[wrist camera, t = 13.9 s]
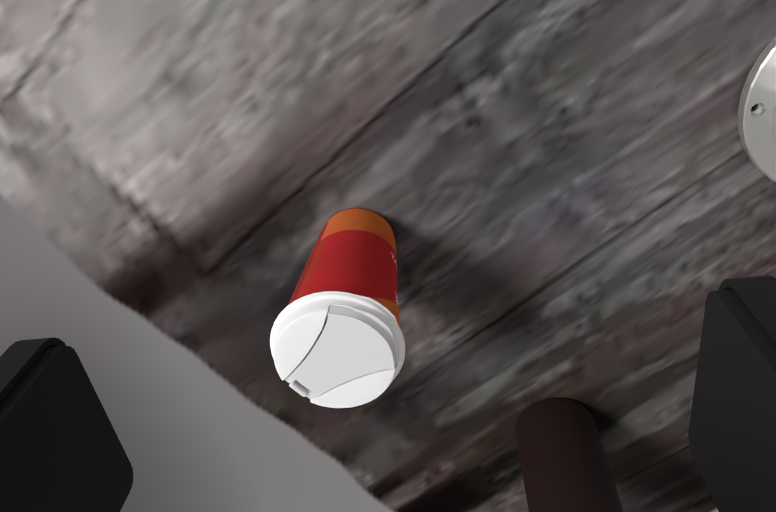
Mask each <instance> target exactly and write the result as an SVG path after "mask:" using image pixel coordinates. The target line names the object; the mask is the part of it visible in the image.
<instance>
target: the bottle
mask: <svg viewBox="0 0 776 512" xmlns="http://www.w3.org/2000/svg"><path fill="white" fill-rule="evenodd" d="M515 432H516V438H517V444H518V450H519V456H520V462H521V467H522V473H523V479H524V485H525V491H526V497H527V503H528V509H529V512H624V511H623V508H622V505H621V502H620V499H619V495H618V492H617V489H616V486H615V483H614V480H613V477H612V474H611V471H610V468H609V464H608V461H607V458H606V455H605V452H604V449H603V446H602V443H601V440H600V437H599V434H598V430H597V427H596V424H595V421H594V419H593V417H592V415H591V414H590V412H589V411H588V409H586V408H585V407H584V406H582V405H581V404H580V403H577V402H574V401H572V400H569V399H559V398H554V399H548V400H543V401H540V402H538V403H535V404H533V405H531V406H530V407H528V408H527V409H526V410H524V411H523V413H522V414H521V415H520V417H519V418H518V420H517V424H516V429H515Z"/></svg>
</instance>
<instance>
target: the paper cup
mask: <svg viewBox="0 0 776 512" xmlns="http://www.w3.org/2000/svg"><path fill="white" fill-rule="evenodd" d="M270 348H271V353H272V356H273V358H274V363H275V367H276V369H277V372H278V374H279V376H280V377H281V379H282V381H283V380H286V381H287V382H288V383H290V384H289V386H290V387H291V388H292V389H294V390H295V391H296V392H298V393H299V394H300V395H302V396H303V397H305V396H307V397H308V398H309V399H310V402H311V403H314V404H317V405H320V406H325V407H332V408H348V407H355V406H359V405H363V404H365V403H367V402H370V401H372V400H373V399H375V398H377V397H378V396H379V395H380V394H382V393H383V392H384V391H385V390H386V389H387V388H388V386H389V385H390V383H391V382H392V381H393V379H394V378H395V377H396V376H397V375H398V373H399V371H400V369H401V367H402V365H403V362H404V357H405V342H404V338H403V334H402V332H401V330H400V328H399V306H398V274H397V251H396V241H395V236H394V232H393V230H392V228H391V226H390V225H389V223H388V222H387V221H386V220H385V219H384V218H383V217H382V216H380V215H379V214H377V213H375V212H373V211H371V210H367V209H362V208H351V209H346V210H343V211H340V212H338V213H337V214H335V215H334V216H332V217H331V218H330V219H329V221H328V222H327V223H326V224H325V226H324V228H323V230H322V231H321V234H320V236H319V238H318V240H317V242H316V244H315V246H314V248H313V250H312V253H311V255H310V257H309V259H308V261H307V264H306V266H305V268H304V270H303V273H302V275H301V277H300V279H299V282H298V284H297V286H296V288H295V291H294V293H293V295H292V297H291V300H290V302H289V304H288V306H287V307H286V308H285V309H284V310H283V311H282V312H281V313H280V314H279V316H278V317H277V319H276V320H275V322H274V325H273V327H272V330H271V335H270Z"/></svg>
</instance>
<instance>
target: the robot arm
mask: <svg viewBox="0 0 776 512" xmlns="http://www.w3.org/2000/svg"><path fill="white" fill-rule="evenodd" d="M754 105H755V106H754ZM753 106H754V108H753V109H751V108H752V107H753ZM738 132H739V136H740V140H741V144H742V146H743V148H744V150H745V152H746V154H747V156H748V158H749V159H750V160H751V162H752V163H753V164H754V165H755V166H756V167H757V168H758V169H759V170H760V171H761V172H762V173H764V174H765V175H766V176H768V177H769V178H770V179H771V180H773V181H775V182H776V36H775V37H774V38H773V39H772V40H771V42H770V43H769V44H768V45H767V47H766V48H765V49H764V50H763V52H762V53H761V54H760V55H759V57H758V59H757V60H756V62H755V64H754V66H753V67H752V69H751V71H750V72H749V74H748V77H747V79H746V82H745V84H744V87H743V90H742V92H741V96H740V102H739V107H738ZM689 444H690V449H691V453H692V456H693V458H694V461H695V463H696V465H697V467H698V469H699V471H700V473H701V475H702V477H703V480H704V482H705V484H706V486H707V488H708V490H709V492H710V494H711V496H712V498H713V500H714V503H715V505H716V507H717V509H718V511H719V512H776V278H774V277H773V276H757V277H745V278H734V279H726V280H724V281H723V282H722V284H721V285H720V288H719V290H718V291H711V292H709V294H708V296H707V299H706V305H705V313H704V320H703V328H702V335H701V343H700V350H699V358H698V365H697V373H696V380H695V388H694V395H693V403H692V410H691V418H690V425H689ZM132 483H133V469H132V466H131V463H130V461H129V459H128V457H127V455H126V453H125V451H124V449H123V447H122V445H121V443H120V441H119V439H118V437H117V435H116V433H115V431H114V429H113V427H112V425H111V423H110V421H109V419H108V416H107V415H106V413H105V410H104V408H103V406H102V404H101V402H100V400H99V398H98V396H97V394H96V392H95V390H94V388H93V386H92V384H91V382H90V380H89V378H88V376H87V373H86V372H85V370H84V368H83V365H82V363H81V362H80V359H79V357H78V355H77V353H76V352H75V350H74V349H73V348H71V347H69V346H66V345H65V343H64V342H63V341H61V340H60V339H58V338H43V339H32V340H22V341H17V342H15V343H14V344H12V345H11V346H10V347H9V348H8V349H7V350H6V351H5V352H4V353H3V354H2V356H1V357H0V512H120V510H121V508H122V506H123V504H124V502H125V500H126V498H127V496H128V494H129V492H130V490H131V487H132Z"/></svg>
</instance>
